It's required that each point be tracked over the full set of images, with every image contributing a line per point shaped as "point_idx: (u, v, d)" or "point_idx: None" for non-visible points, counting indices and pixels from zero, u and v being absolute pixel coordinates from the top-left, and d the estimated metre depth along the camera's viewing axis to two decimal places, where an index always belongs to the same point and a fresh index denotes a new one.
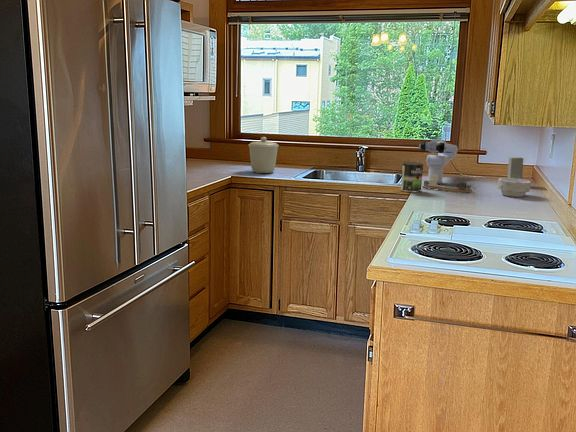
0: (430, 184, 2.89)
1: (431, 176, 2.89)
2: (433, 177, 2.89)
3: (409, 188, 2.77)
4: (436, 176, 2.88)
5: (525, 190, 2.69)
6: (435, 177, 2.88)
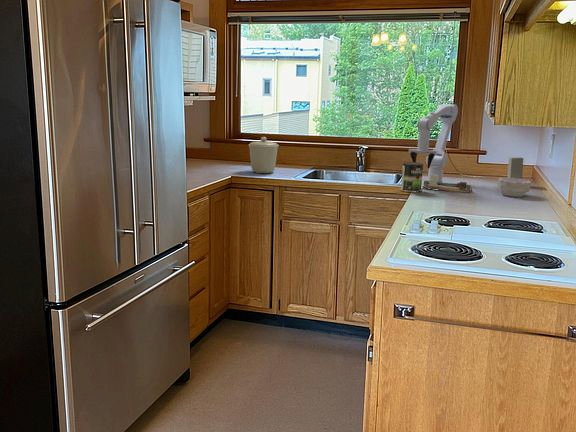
0: (430, 184, 2.89)
1: (431, 176, 2.89)
2: (433, 177, 2.89)
3: (409, 188, 2.77)
4: (436, 176, 2.88)
5: (525, 190, 2.69)
6: (435, 177, 2.88)
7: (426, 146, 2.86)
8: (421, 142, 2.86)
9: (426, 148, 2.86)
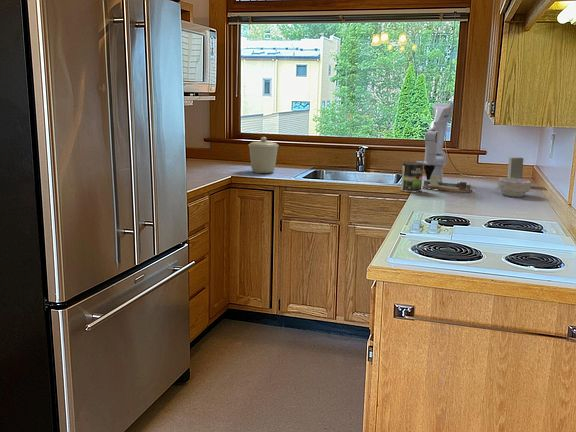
0: (431, 184, 2.89)
1: (432, 176, 2.89)
2: (434, 177, 2.89)
3: (409, 188, 2.77)
4: (437, 176, 2.88)
5: (525, 190, 2.69)
6: (436, 177, 2.88)
7: (433, 159, 2.86)
8: (428, 155, 2.86)
9: (433, 161, 2.86)
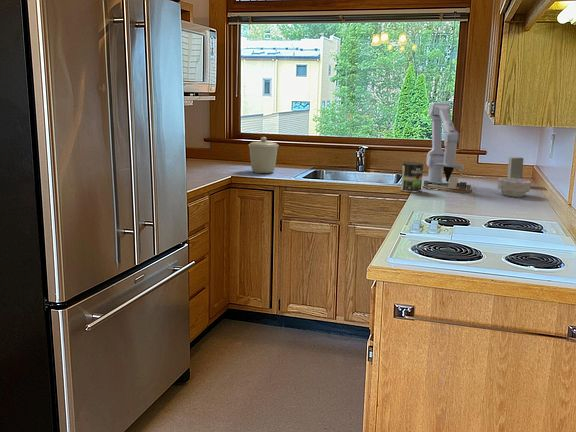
0: (450, 186, 2.84)
1: (451, 178, 2.85)
2: (453, 179, 2.84)
3: (409, 188, 2.77)
4: (456, 178, 2.83)
5: (525, 190, 2.69)
6: (454, 179, 2.84)
7: (453, 160, 2.81)
8: (447, 156, 2.81)
9: (453, 162, 2.82)
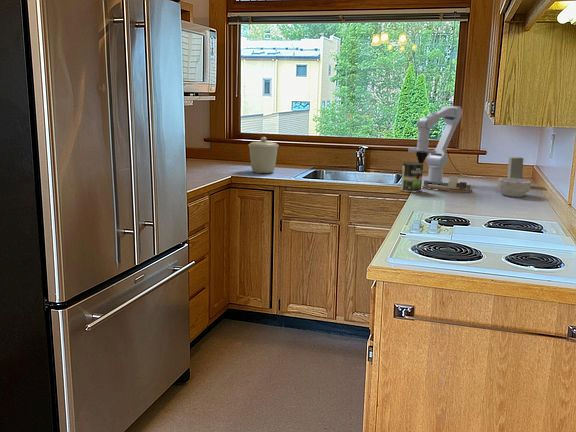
0: (449, 186, 2.84)
1: (450, 178, 2.85)
2: (453, 179, 2.84)
3: (409, 188, 2.77)
4: (456, 178, 2.84)
5: (525, 190, 2.69)
6: (454, 179, 2.84)
7: (426, 145, 2.89)
8: (421, 141, 2.89)
9: (426, 147, 2.89)
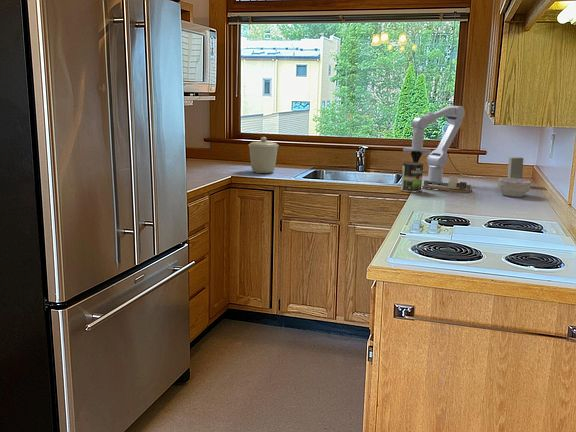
0: (449, 186, 2.84)
1: (450, 178, 2.85)
2: (453, 179, 2.84)
3: (409, 188, 2.77)
4: (456, 178, 2.84)
5: (525, 190, 2.69)
6: (454, 179, 2.84)
7: (420, 145, 2.91)
8: (415, 141, 2.91)
9: (420, 147, 2.92)
